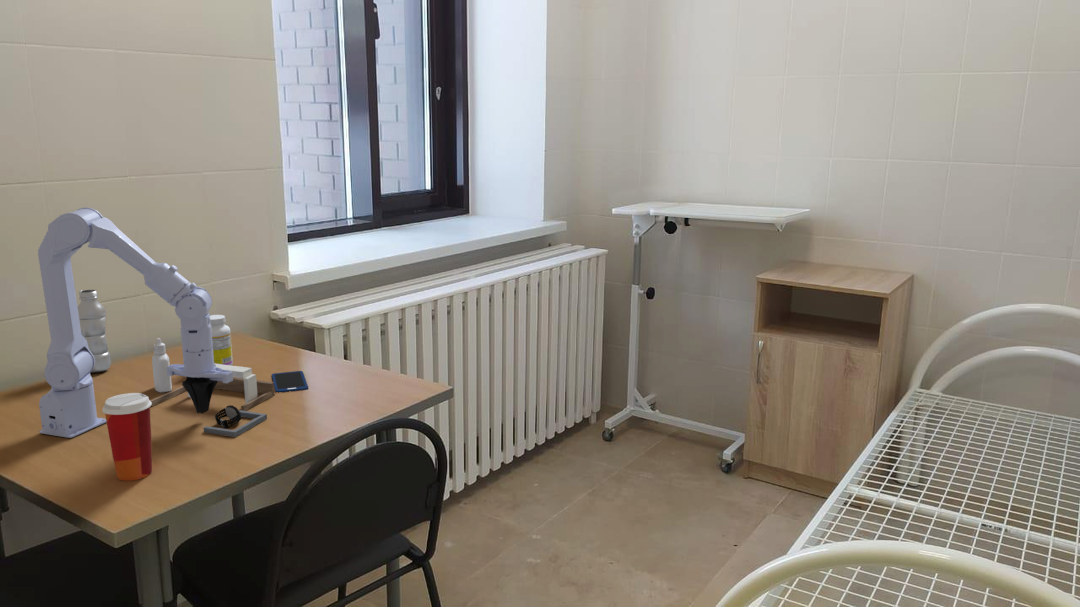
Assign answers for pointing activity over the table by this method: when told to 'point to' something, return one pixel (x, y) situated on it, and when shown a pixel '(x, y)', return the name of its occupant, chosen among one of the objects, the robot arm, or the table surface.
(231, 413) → the smartwatch
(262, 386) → the track
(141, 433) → the paper cup
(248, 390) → the clamp arch
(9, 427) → the table surface
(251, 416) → the frame
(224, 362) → the supplement bottle
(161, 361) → the eye dropper bottle
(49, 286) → the robot arm
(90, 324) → the plastic bottle
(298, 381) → the cell phone
